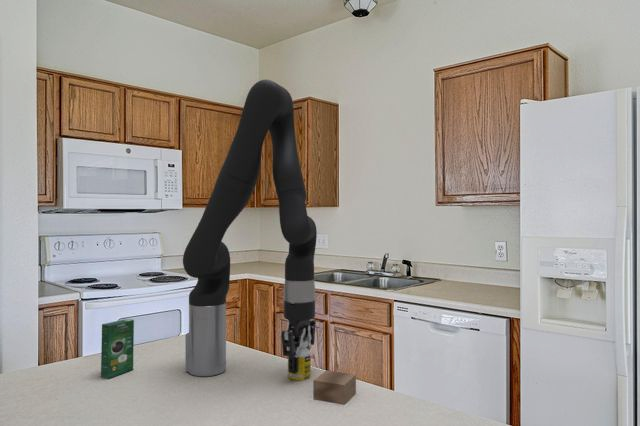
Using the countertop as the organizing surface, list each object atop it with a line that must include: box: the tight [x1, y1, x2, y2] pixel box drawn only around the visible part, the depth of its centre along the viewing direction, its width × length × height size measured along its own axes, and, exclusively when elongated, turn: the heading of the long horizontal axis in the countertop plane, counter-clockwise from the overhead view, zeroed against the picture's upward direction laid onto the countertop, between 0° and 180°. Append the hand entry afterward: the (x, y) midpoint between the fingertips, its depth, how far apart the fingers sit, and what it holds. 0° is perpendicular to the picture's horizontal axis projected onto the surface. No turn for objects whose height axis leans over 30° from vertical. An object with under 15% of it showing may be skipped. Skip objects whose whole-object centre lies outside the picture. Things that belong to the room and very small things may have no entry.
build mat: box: [308, 391, 361, 408], centre depth 108 cm, size 12×12×1 cm
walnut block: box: [312, 369, 357, 405], centre depth 105 cm, size 7×7×4 cm
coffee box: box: [100, 318, 135, 380], centre depth 122 cm, size 8×3×13 cm, turn 153°
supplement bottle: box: [287, 339, 312, 381], centre depth 118 cm, size 5×5×10 cm
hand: (299, 368), depth 118 cm, fingers open, 5 cm apart
